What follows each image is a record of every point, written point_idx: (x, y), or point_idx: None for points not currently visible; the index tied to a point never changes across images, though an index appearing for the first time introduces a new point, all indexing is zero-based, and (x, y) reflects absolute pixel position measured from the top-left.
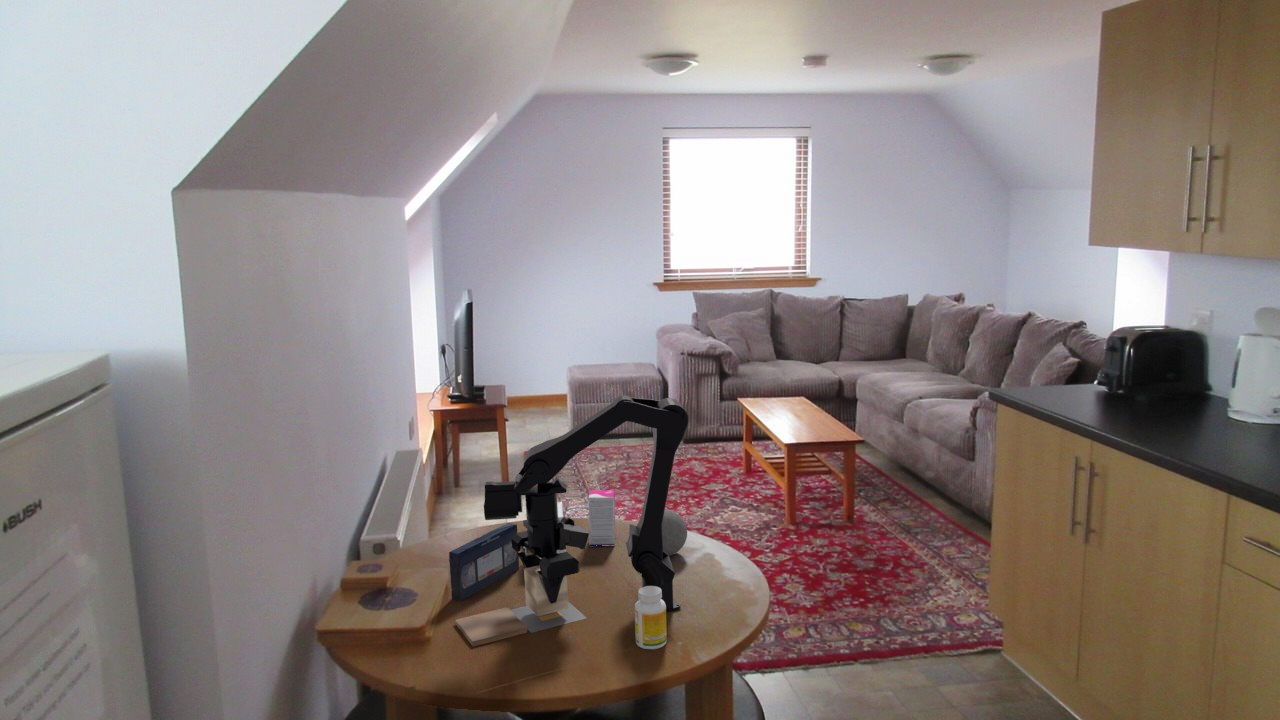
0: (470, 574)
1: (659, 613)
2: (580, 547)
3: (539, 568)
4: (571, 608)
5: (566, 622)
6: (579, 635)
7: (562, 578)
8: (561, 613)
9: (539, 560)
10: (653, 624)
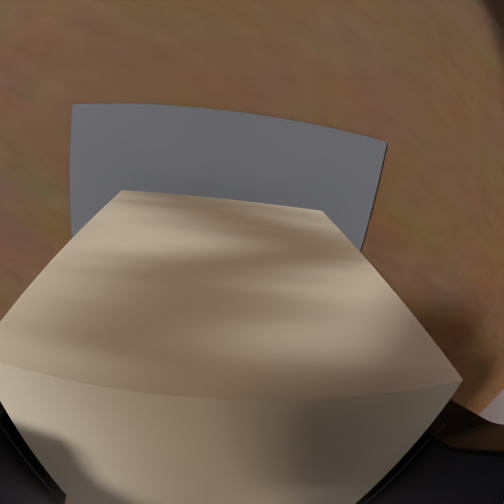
0: None
1: None
2: None
3: (131, 502)
4: (236, 134)
5: (353, 239)
6: (454, 252)
7: (481, 423)
8: None
9: (5, 484)
10: None
